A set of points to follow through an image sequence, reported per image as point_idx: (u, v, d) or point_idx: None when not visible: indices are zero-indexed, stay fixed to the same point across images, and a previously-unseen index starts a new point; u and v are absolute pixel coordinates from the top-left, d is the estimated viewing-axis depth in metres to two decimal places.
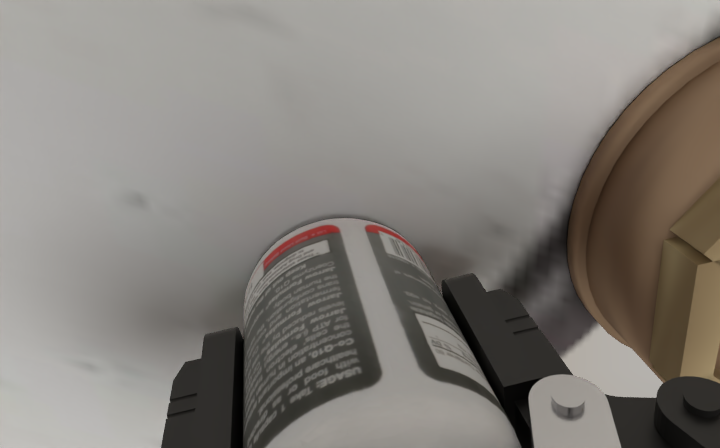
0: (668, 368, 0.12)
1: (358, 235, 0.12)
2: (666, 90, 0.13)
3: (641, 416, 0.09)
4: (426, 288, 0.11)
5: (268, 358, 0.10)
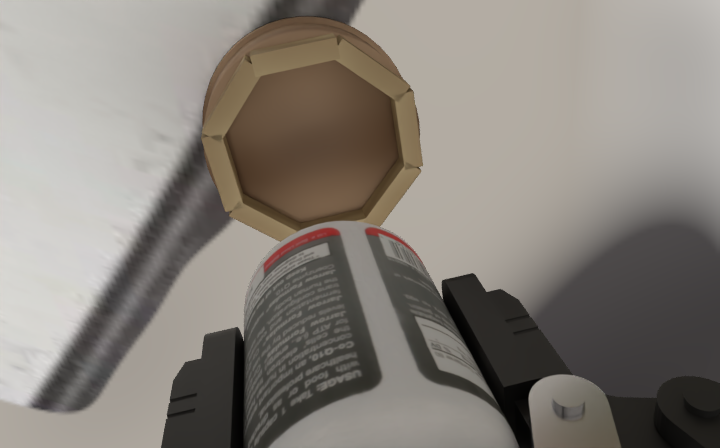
0: None
1: (358, 238, 0.12)
2: (225, 56, 0.24)
3: (641, 416, 0.09)
4: (425, 291, 0.11)
5: (269, 361, 0.10)
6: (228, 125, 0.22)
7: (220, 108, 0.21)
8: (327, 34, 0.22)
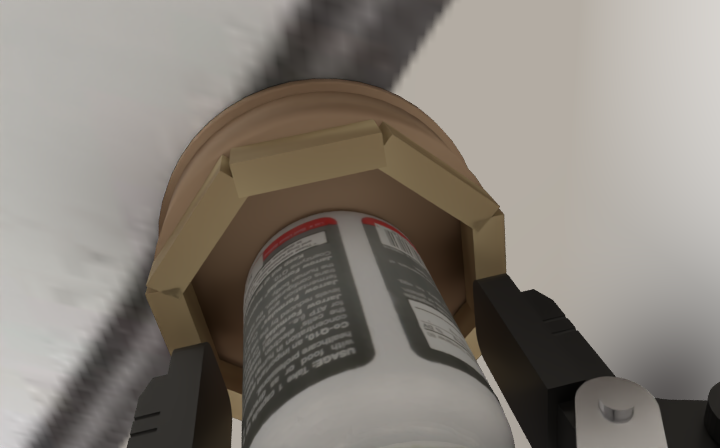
0: None
1: (355, 227, 0.13)
2: (194, 142, 0.15)
3: (690, 419, 0.09)
4: (420, 277, 0.12)
5: (266, 342, 0.10)
6: (192, 273, 0.13)
7: (177, 248, 0.12)
8: (364, 121, 0.13)
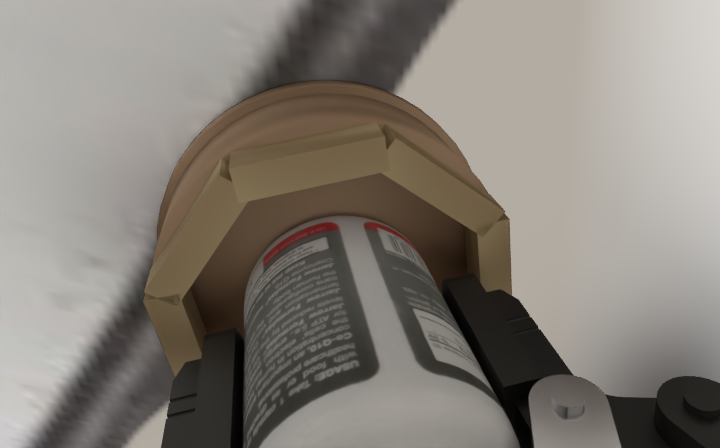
0: None
1: (357, 232, 0.12)
2: (193, 145, 0.15)
3: (641, 416, 0.09)
4: (424, 284, 0.12)
5: (267, 353, 0.10)
6: (191, 280, 0.12)
7: (176, 254, 0.12)
8: (366, 124, 0.12)
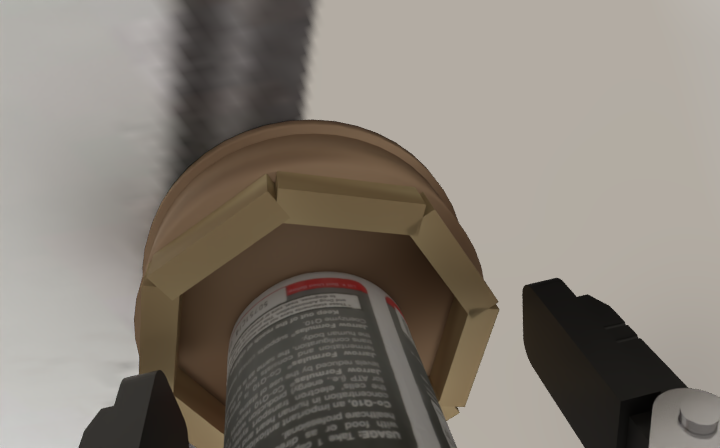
0: None
1: (382, 304, 0.13)
2: None
3: None
4: (427, 376, 0.13)
5: (296, 387, 0.10)
6: (171, 375, 0.13)
7: (145, 361, 0.13)
8: (257, 180, 0.13)
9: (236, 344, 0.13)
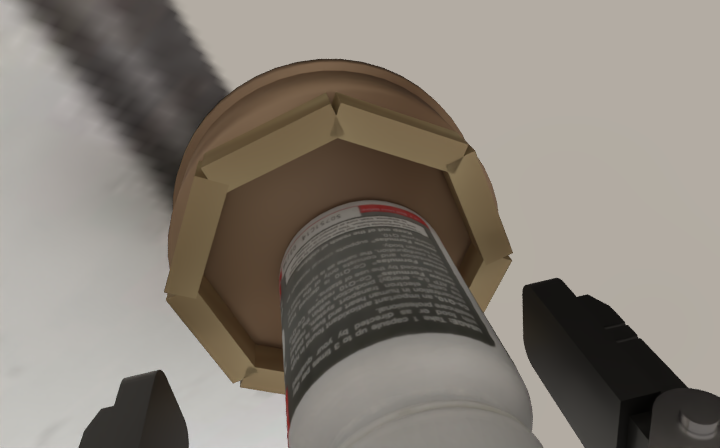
0: None
1: (440, 242, 0.14)
2: None
3: None
4: None
5: (385, 277, 0.11)
6: (241, 353, 0.15)
7: (214, 352, 0.15)
8: (195, 169, 0.14)
9: (304, 246, 0.14)
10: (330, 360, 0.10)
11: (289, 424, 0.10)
